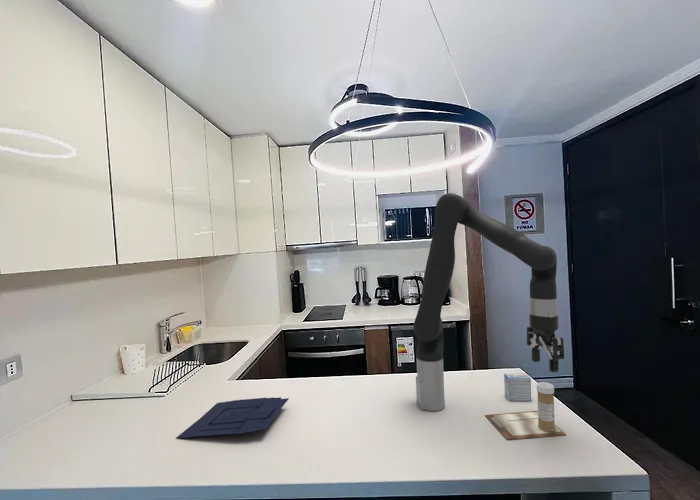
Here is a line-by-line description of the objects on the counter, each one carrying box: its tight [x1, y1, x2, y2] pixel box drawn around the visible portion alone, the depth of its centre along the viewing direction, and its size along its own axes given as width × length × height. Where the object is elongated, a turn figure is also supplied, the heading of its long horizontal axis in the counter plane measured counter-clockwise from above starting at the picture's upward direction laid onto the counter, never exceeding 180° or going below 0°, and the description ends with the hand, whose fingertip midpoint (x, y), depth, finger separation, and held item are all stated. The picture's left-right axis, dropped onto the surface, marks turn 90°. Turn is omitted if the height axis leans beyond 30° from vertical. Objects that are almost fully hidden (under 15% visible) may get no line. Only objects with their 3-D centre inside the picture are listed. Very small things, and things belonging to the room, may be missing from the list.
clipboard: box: [484, 410, 567, 441], centre depth 108 cm, size 18×14×2 cm
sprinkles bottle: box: [536, 381, 555, 432], centre depth 104 cm, size 5×5×14 cm
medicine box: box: [503, 372, 532, 402], centre depth 125 cm, size 8×4×9 cm, turn 84°
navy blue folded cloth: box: [175, 396, 290, 439], centre depth 118 cm, size 24×30×4 cm
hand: (544, 366), depth 104 cm, fingers open, 8 cm apart
